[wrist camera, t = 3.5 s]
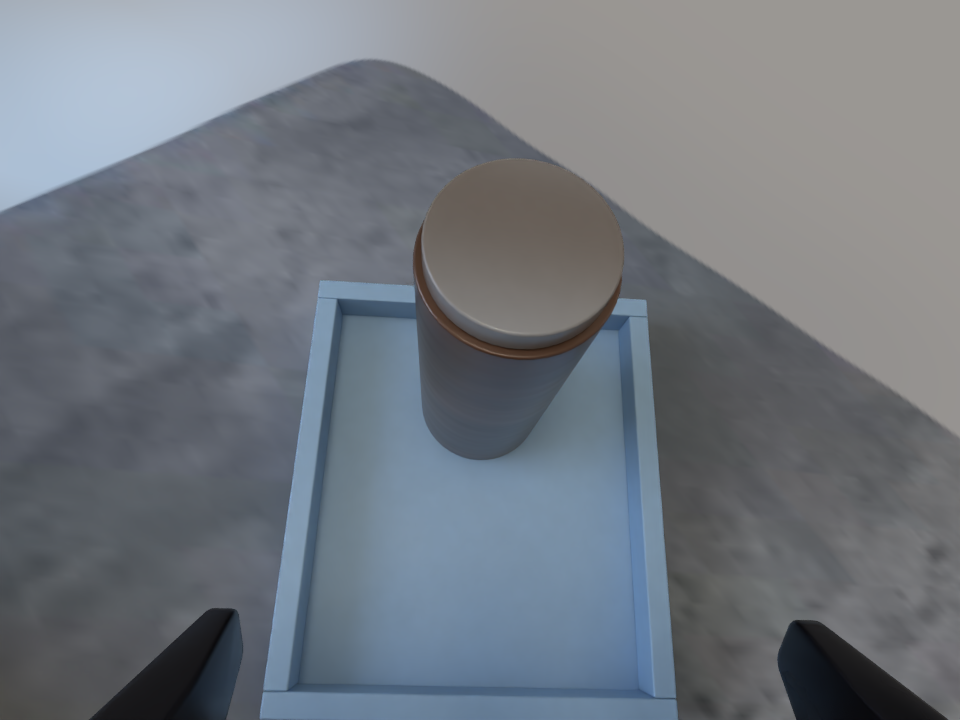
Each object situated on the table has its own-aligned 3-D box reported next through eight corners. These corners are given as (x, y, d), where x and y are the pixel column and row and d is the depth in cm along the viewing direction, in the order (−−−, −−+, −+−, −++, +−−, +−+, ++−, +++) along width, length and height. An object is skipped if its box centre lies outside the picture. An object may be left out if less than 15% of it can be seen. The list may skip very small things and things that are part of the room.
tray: (655, 712, 21) (679, 726, 19) (275, 705, 20) (258, 720, 18) (630, 320, 27) (646, 299, 25) (328, 303, 26) (320, 279, 24)
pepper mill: (550, 446, 24) (664, 321, 12) (435, 472, 23) (437, 366, 11) (521, 338, 25) (596, 136, 14) (411, 360, 25) (392, 165, 13)
